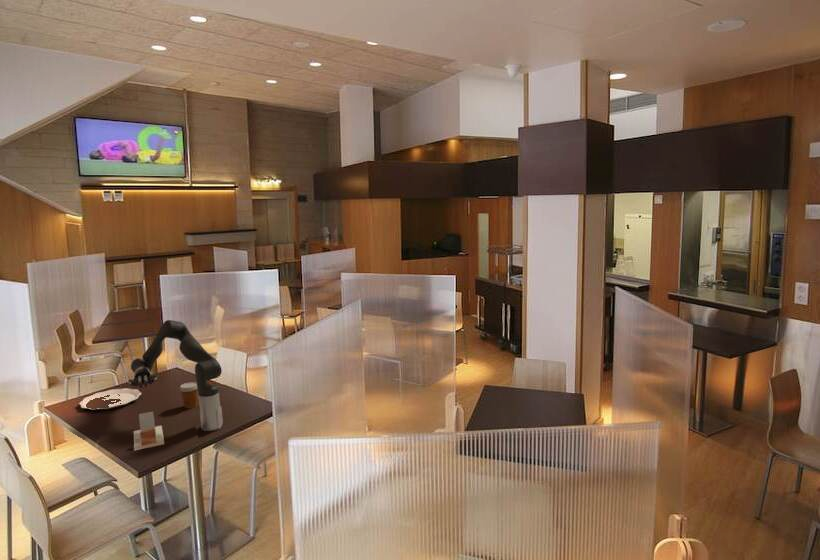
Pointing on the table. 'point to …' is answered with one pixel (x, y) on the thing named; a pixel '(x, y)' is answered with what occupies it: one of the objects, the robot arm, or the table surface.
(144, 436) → the block
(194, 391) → the disposable coffee cup
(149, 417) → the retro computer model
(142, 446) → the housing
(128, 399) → the plate
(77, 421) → the table surface
